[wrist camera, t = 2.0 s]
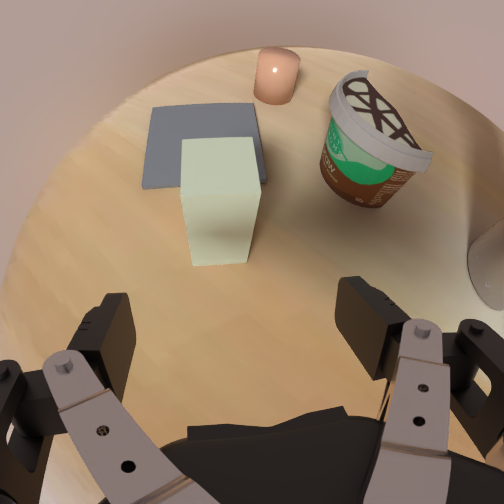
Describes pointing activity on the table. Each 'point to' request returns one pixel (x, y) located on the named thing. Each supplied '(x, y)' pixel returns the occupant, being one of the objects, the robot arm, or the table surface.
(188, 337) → the table surface
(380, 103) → the food container
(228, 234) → the sage block
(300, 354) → the table surface
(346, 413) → the robot arm
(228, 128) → the plate
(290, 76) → the peach pillar candle
